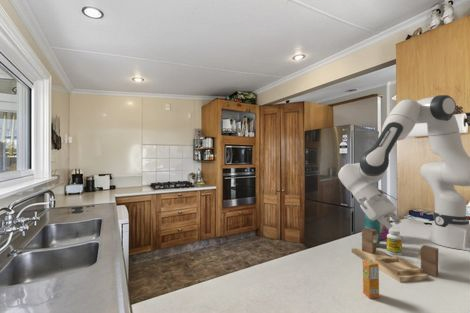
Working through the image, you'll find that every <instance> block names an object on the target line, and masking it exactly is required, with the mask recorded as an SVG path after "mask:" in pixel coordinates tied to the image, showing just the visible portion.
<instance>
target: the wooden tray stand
mask: <svg viewBox="0 0 470 313" xmlns="http://www.w3.org/2000/svg"><path fill="white" fill-rule="evenodd" d="M376 242H378V234H376V230H374V229H370V228H365V227H364V228H362V229H361V247H360V248H359V247H356V248H351V253H352V254H354V255H356V256H357V257H359V258H360V259H362V261H363V260H373V261H374V262H376V263H378V265H379V271H381V272H383V273H384V274H386V275H388V276H389V277H391V278H393V279H395V280H396V281H397V282H399V283H406V282H414V281H415V282H416V281H417V282H418V281H427V280H429V275H427V274H425V273H424V272H423V269H421V267H419V266H417V265H415V264H412V263H411V262H409V261H407V260H405V259H403V258H401V257H399V256H392V255H390V253H389V254H388V252H385V251H382V250H380V249H378V248H377V244H376Z"/></svg>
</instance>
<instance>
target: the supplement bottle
mask: <svg viewBox="0 0 470 313" xmlns="http://www.w3.org/2000/svg"><path fill="white" fill-rule="evenodd" d="M402 247H403V238H402V236H401V231H400V230H399V229H395V228H390V229H389V234H387V238H386V251H387V252H386V253H389V254H391V255H395V256H397V255H399V256H400V255H402V254H403V248H402Z"/></svg>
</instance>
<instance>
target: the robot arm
mask: <svg viewBox="0 0 470 313" xmlns="http://www.w3.org/2000/svg"><path fill="white" fill-rule="evenodd" d="M456 109H457V104H456V100H455V99H454V98H453V97H452V96H450V95H448V94H439V95H435V96H430V97H425V98H422V99H421V98H420V99H418V100H414V99H402V100H400V101H399V102H398V103H397V104H396V105H395V106H394V107H393V108H392V109H391V111H390V112H389V114H388V115H387V117H386V119H385V120H384V123H383V125H382V127H381V128H382V129H381V134H380V135H379V137H378V138H377V139H376V141H375V143H374V145H373V146H372V147H371V148H369V149H368V150H367V151H365V152H364V153H362V155H361V156H360V158H359V161H358V162H356V163H346V164H344V165H343V166H342V167H341V168H340V169H339V170H338V172H337V173H338V174H337V175H338V176H337V177H338V179H339V181H340V182H341V184H342V185H343V186H344V187H345V188H346V189H347V191H350V192H351V194H352V196H353V198H354V199H355V200H356V201H357V202H358V203H359V206H360V208H361V210H362V211H363V213H364V215H365V214H366V215H367V217H368V218H369V219H370V220H372V221H374V220H378V221H379V222H380V223H382V224H383V225H384V226H385V227H386V228H387V229H389V228H390V229H392V227H393V224H392V223H391V221H390V222H388V221H387V220H385V218H384V216H387V215H389V216H390V219H392V220H393V223H395V225H400V224H401V223H402V221H401V220H400V218H399V217H398V215H397V213H396V211H397V208H396V205H395V204H394V203H393V202H392V201H391V200H390V198H389V197H387V196H386V195H385V192H384V191H383V190H382V189H379V188H377V187H375V186H374V185H373V184H375V183H377V182H379V181H381V180H383V178H384V176H385V174H386V171H387V169H388V167H389V165H390V159H389V158H390V153H391V151H392V150H393V148H394V146H395V145H396V143H397V142H398V141H402V140H405V139H406V138H407V137H408V136H409V134H410V133H411V132H412V131H413V129H414V127H415V126H416V124H426V126H427V136H428V142H429V147H430V151H431V152H432V153H433V154H434V155H436V156H439V158H441V160H442V161H439V160H438V161H429V162H425V163H424V164H422V166H421V167H420V171H419V173H420V176H421V179H423V180H424V181H425V182H426V183H427V184H428V186H429V187H430V189H431V191H432V193H433V198H434V211H433V214H432V218H433V221H432V224H431V230H430V234H429V235H428V238H429V241H430V242H432V243H433V244H436V245H439V246H441V247H447V248H451V249H458V250H463V251H467V252H470V215H467V199H466V198H465V196H463V195H462V194H460V192H458V190H456V187H457V186H459V187H470V155H469V154H468V153H467V152H466V150H465V148H464V145H463V141H462V138H461V133H460V128H459V123H458V121H457V118H456V116H455V112H456ZM455 186H456V187H455Z"/></svg>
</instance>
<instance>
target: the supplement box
mask: <svg viewBox="0 0 470 313" xmlns="http://www.w3.org/2000/svg"><path fill="white" fill-rule="evenodd" d="M379 271H380V269H379V265H378V263H376V262H374V261H373V260H363V259H362V293H363V294H364V295H365V297H367V298H368V299H379V298H380V276H379V274H380V273H379Z"/></svg>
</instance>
